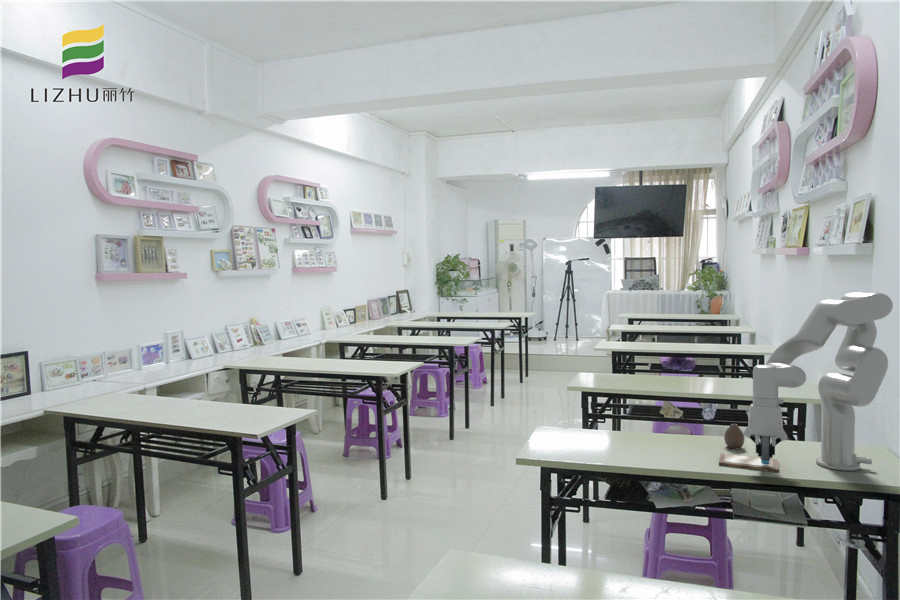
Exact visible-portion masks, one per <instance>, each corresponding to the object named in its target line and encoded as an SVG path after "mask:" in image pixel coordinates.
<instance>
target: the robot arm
mask: <svg viewBox="0 0 900 600" xmlns="http://www.w3.org/2000/svg"><path fill="white" fill-rule="evenodd" d="M893 306H894V303H893V301H892V298H891V297H890V296H888V295H887V294H885V293H882V292H864V291H862V292H861V291H858V292H857V291H856V292H855V291H854V292H849V293H845V294H843V295H842V296H841V298H840V299H824V300H821V301H819V302H818V303H816V305H815V306H814V308H813V309H812V310H811V312H810V314H809V315H808V317H807V318H806V319H805V321H804V323H802V325H801V327H800V328H799V330H798V332H797V333H796V334H795V335H794V336H791V337H790V338H789V339H787V340H786V341H784V342H783V343H782V344H781V345H779V346H778V347H777V348H776V349H775V350H774V351H773V353H772V354H771V356H770V357H769V358H768V360H767V362H766V363H765V364H756V365H755V366H753V369H752V403H751V404H749V405H750V406H749V410H748V420H747V421H748V425H747V427H746V429H745V430H744V432H743V434H744V437H747V438H748V439H750V440H751V441H752V442H753V443H754V444H755V453H756V454H757V456H758V457H759V458H760V456H761V445H760V436H768V437H770V459H774V457H773V456H775V455H776V446H777V445H779V444H780V443H781V442H783V441H787V440H788V439H789V438H788V435H787V433H786V432H785V429H784V427H783V426H784V424H783V423H784V422H783V413H782V412H783V411H782V407H781V406H780V405H783V404H784V399H781V398H779V388H789V389H796V388H799V387H801V386H803V385H804V384H805V382H806V381H807V374H806V372H805V371H804V370H803V368H801V367H800V366H797V365H793V364H792V363H793V362H794V361H795V360H796V359H797V358H799V357H801V356H802V355H806V354H808V353H812V352H815V351H817V350H818V351H819V350H820V349H822V348H823V347H824V346H825V344H826V342H827V341H828V340H829V338H830V336H831V335H832V333H833V332H834V330H835V329H836V327H837V326H842V327H843V326H844V327H846V331H845V334H844V337H843V339H842V341H841V343H840V346H839V348H838V351H837V352H836V355H835V358H834V359H835V360H834V361H835V365H836V366H837V368H838V369H840V370H841V371H845V372H848V373H853V375H850V374H846V373H841V372H829V373H828V372H827V373H826V374H823V376H822V377H820V379H819V381H818V385H817V386H818V394H819V399H820V405H821V419H820V420H821V421H820V422H821V428H820V429H821V430H820V431H821V432H820V433H821V436H820V437H821V438H820V440H821V445H820V446H821V447H820V449H821V450H820V452H821V453H820V456H819V457H816V458H815V464H817V465H818V466H821V467H824V468H827V469H832V470H837V471H846V472H847V471H848V472H849V471H858V470H860V469H861V464H864V465H870V466H871V465H872V464H873V459H872V458H868V457H866V456H859V455H857V454H856V452H855V451H856V450H855V449H856V448H855V446H856V445H855V441H856V436H855V435H856V431H855V430H856V412H855V409H854V407H861V408H862V407H867V406H868V405H870V404H871V403H872V402H873V401H874V399H875V398H876V395H877V394H878V391H879V390H880V387H881V385H882V383H883V380H884V378H885V376H886V374H887V371H888V368H889V360H888V355H887V354H886V353H885V351H884V350H882V349H880V348H878V347H876V346H874V344H875V341H876V340H877V336H878V329H877V326H876V323H875V321H877V320H882V319H884V318H886V317H887V316H889V315H890V314H891V312H892V311H893ZM853 406H854V407H853Z"/></svg>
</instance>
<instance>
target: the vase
mask: <svg viewBox="0 0 900 600" xmlns="http://www.w3.org/2000/svg"><path fill="white" fill-rule="evenodd" d="M723 438H724V443H725V445H726V446H727V448H729V447H731V448H730V449H733V448H739V449H741V448H742V447H743V445H744V443H745V435H744V432H743V431H742V429H741V428H740V426H739V425H738V424H737V423H731V424H730V426H729V427H727V429H726V430H725V432H724V437H723Z"/></svg>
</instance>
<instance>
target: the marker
mask: <svg viewBox="0 0 900 600" xmlns="http://www.w3.org/2000/svg"><path fill="white" fill-rule="evenodd" d="M759 441H760V445H761V456H760V457H759V458H760V459H761V463H762V464H766V465H768V464H769V460H770V459H771V458H770V445H771V437H768V436H760V438H759Z"/></svg>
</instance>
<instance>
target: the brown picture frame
mask: <svg viewBox="0 0 900 600" xmlns="http://www.w3.org/2000/svg"><path fill="white" fill-rule="evenodd" d="M722 465H725V466H724V467H730V466H733V467H732V468H738V467H739V469H746V468H749V469H748V470H754V469H758V470H757V471H762V470H767V471H766V472H770V471H774V472H773V473H778V472H780V467H779V459H778V458H777V459H774V458H770V460H769V464H768V465H766V464H762V463H761V459H760V457H757V456H749V455H740V454H733V453H724V452H723V453H722V452H720V455H719V460H718V466H722Z"/></svg>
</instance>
